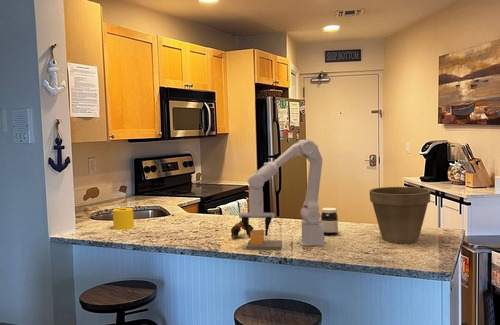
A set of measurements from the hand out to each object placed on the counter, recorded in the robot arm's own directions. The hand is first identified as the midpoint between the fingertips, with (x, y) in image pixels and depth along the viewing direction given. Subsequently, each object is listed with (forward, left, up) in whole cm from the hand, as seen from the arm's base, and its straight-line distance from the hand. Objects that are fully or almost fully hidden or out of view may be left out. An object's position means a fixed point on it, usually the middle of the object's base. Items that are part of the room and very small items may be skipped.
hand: (257, 235), depth 190 cm
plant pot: (-60, -14, -5) cm, 62 cm away
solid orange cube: (0, 0, -3) cm, 3 cm away
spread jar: (-29, -25, -5) cm, 39 cm away
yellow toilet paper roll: (+73, -35, -5) cm, 81 cm away
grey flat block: (-3, 0, -5) cm, 6 cm away
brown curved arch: (+10, -17, -5) cm, 20 cm away
